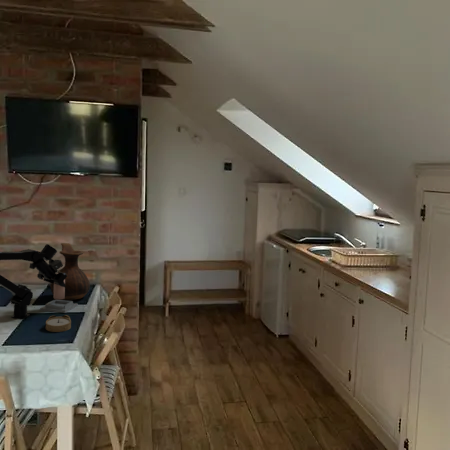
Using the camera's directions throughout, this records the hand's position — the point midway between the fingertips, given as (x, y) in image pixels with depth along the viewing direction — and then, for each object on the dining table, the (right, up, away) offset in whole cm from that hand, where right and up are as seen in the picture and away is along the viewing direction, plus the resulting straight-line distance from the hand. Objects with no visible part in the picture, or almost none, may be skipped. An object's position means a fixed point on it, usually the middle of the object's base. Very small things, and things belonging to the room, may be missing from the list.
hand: (61, 285), depth 266 cm
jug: (-2, -10, +22) cm, 24 cm away
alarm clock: (+8, -16, -30) cm, 35 cm away
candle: (-1, -7, 0) cm, 7 cm away
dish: (-1, -12, 0) cm, 12 cm away
